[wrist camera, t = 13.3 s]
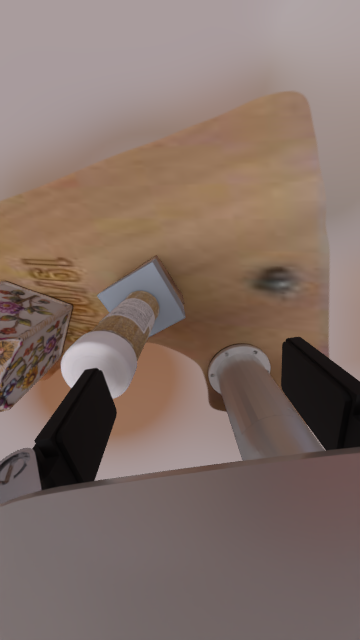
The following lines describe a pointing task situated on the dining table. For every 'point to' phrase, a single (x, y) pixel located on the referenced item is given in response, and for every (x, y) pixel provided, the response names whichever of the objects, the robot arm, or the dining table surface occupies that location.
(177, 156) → the dining table surface
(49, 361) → the decorative jar
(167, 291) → the slate top block
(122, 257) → the dining table surface
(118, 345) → the sprinkles bottle
